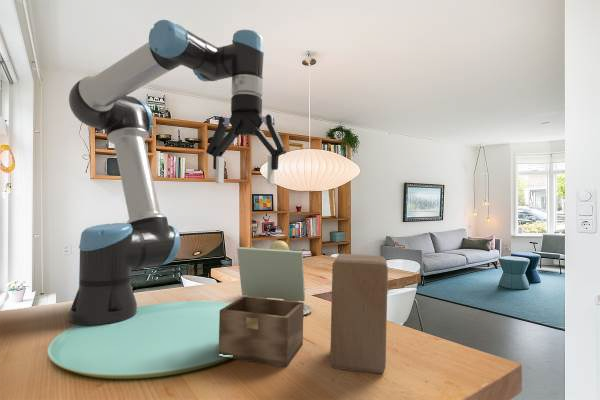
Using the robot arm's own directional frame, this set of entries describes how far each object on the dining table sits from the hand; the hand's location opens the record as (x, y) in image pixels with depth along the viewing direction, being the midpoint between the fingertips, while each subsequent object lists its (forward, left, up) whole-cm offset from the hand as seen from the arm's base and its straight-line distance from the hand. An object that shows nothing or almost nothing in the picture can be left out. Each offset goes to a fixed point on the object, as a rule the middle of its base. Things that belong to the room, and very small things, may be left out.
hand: (244, 183), depth 88 cm
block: (+26, -18, -35) cm, 47 cm away
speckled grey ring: (+12, +13, -35) cm, 39 cm away
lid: (+8, -11, -20) cm, 24 cm away
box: (+7, -14, -35) cm, 38 cm away
